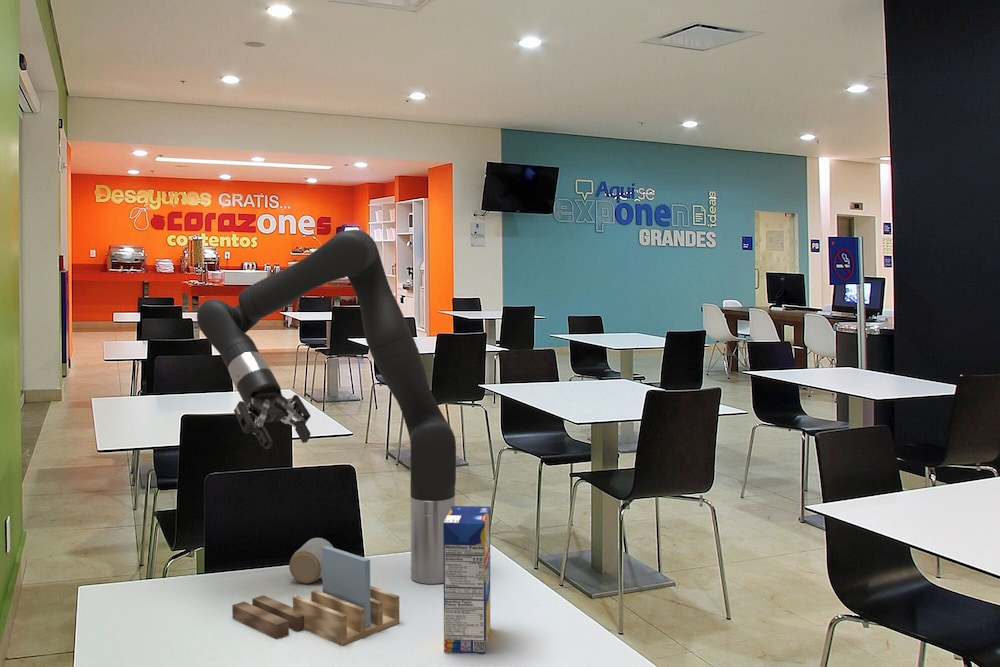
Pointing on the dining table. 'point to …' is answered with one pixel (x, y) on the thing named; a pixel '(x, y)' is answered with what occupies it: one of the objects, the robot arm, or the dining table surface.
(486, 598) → the beverage box
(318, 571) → the ceramic mug
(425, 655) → the dining table surface
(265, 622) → the stand
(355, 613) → the rack
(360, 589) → the pale blue board
